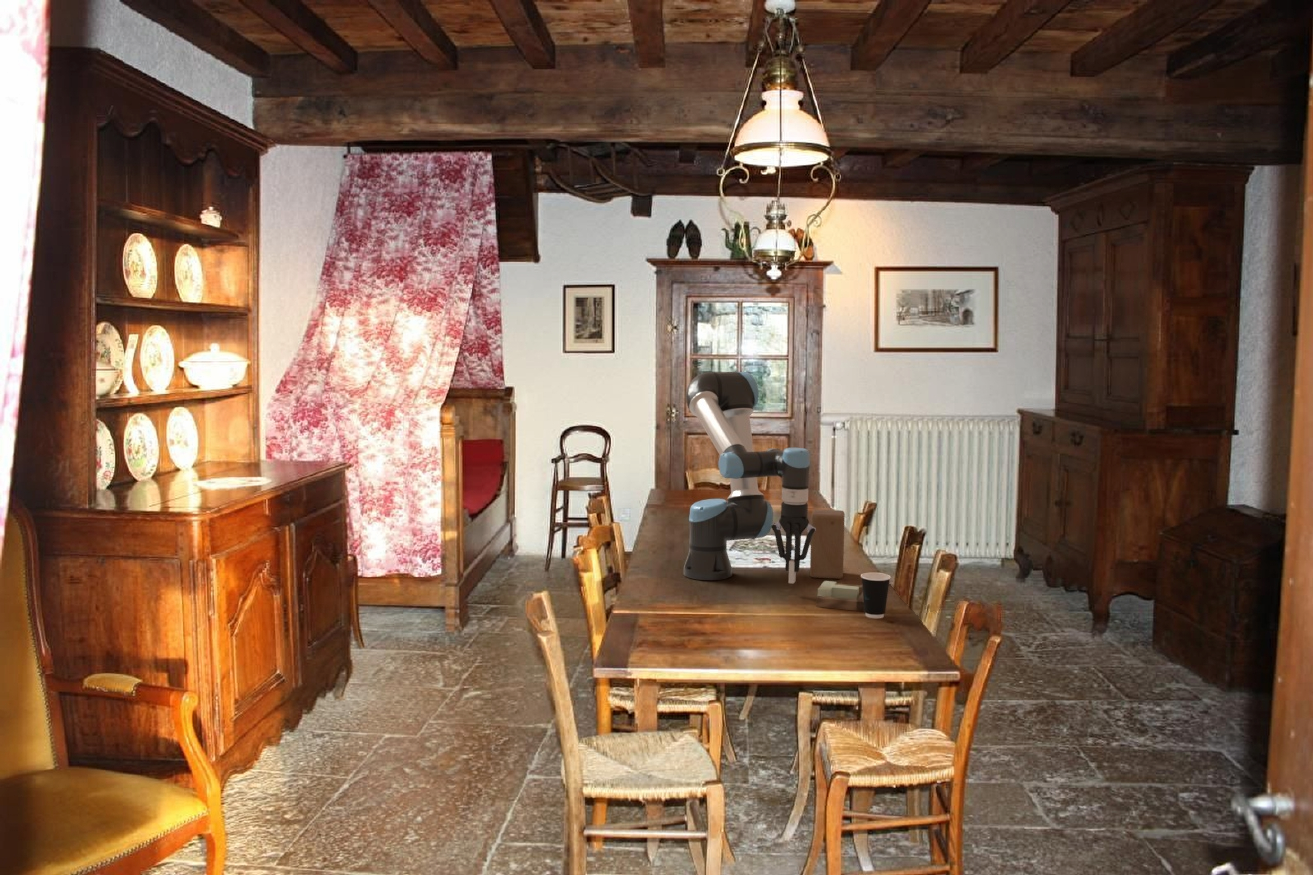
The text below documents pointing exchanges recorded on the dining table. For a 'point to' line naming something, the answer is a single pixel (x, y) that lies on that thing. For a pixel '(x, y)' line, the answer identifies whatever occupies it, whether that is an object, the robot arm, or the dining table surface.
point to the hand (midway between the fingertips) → (791, 582)
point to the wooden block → (827, 544)
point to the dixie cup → (875, 593)
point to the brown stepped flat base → (842, 601)
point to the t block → (838, 590)
